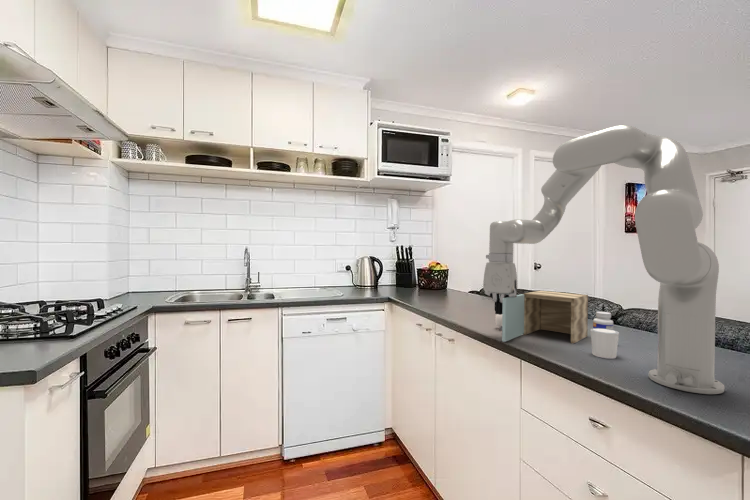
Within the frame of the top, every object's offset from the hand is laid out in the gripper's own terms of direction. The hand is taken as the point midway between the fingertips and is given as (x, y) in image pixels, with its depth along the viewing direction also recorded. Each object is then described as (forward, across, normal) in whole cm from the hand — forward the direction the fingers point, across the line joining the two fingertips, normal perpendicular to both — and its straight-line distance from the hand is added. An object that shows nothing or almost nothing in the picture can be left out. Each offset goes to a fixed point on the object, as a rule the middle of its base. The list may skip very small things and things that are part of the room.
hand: (499, 313), depth 117 cm
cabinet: (+8, +11, +18) cm, 22 cm away
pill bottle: (+8, +25, +19) cm, 32 cm away
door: (+7, +3, +2) cm, 8 cm away
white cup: (+8, +29, +4) cm, 30 cm away
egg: (+8, -5, +13) cm, 16 cm away
